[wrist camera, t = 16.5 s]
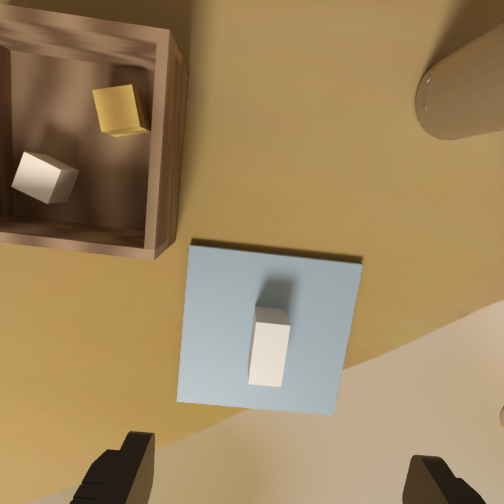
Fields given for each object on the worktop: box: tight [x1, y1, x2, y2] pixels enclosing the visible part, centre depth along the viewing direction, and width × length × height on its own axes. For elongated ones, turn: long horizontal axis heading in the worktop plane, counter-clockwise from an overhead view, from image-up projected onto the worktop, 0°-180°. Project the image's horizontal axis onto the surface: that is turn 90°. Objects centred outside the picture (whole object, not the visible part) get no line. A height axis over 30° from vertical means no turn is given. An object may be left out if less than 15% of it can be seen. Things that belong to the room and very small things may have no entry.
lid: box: [177, 244, 363, 415], centre depth 42 cm, size 22×22×7 cm
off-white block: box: [11, 152, 80, 204], centre depth 36 cm, size 4×4×4 cm
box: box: [0, 4, 189, 260], centre depth 34 cm, size 20×20×10 cm
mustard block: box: [92, 85, 151, 137], centre depth 35 cm, size 4×4×4 cm
